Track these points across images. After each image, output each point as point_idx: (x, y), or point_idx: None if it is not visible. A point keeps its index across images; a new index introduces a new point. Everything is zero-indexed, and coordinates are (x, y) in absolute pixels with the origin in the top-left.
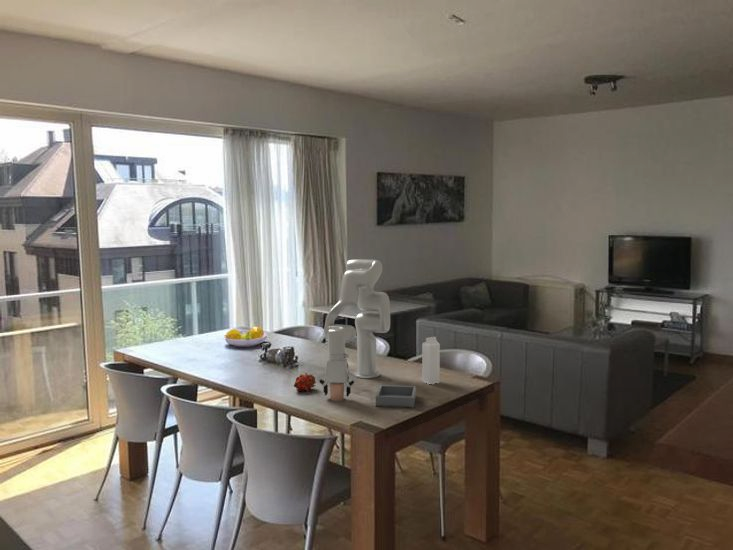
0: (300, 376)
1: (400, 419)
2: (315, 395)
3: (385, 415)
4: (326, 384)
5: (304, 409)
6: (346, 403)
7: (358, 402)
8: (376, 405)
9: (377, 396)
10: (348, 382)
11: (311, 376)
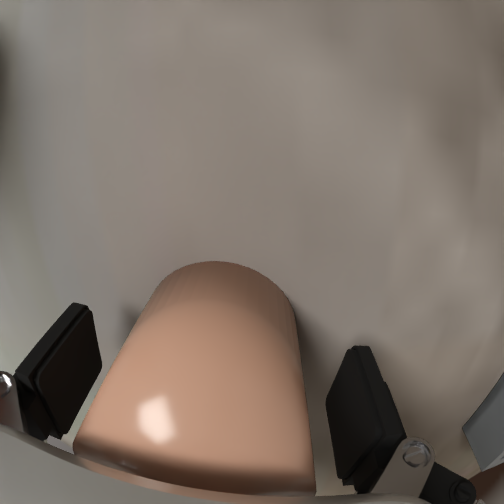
0: None
1: None
2: (3, 212)
3: None
4: (38, 426)
5: (72, 442)
6: (309, 418)
7: (404, 396)
8: (467, 431)
9: (488, 468)
10: (397, 492)
11: None
